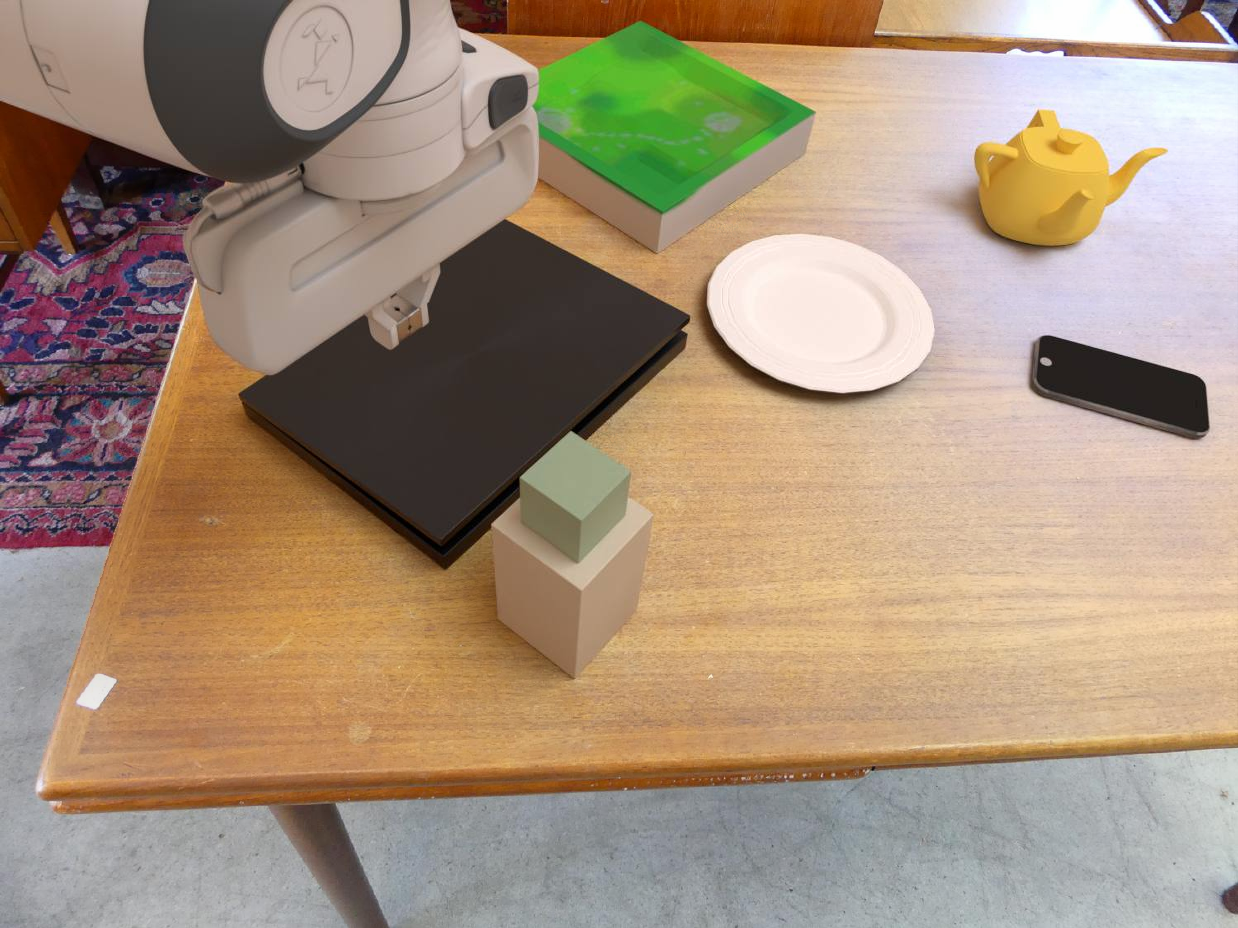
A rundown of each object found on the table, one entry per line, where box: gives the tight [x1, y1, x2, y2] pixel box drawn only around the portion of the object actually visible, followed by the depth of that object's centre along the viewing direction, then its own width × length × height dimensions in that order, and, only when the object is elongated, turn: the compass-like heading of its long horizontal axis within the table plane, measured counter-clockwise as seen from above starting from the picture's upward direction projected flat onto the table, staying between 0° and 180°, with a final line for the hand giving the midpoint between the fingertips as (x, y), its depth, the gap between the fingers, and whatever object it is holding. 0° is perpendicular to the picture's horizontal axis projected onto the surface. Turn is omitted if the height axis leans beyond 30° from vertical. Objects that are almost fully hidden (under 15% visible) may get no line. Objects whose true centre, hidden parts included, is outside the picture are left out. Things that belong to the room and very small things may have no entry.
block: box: [520, 431, 632, 563], centre depth 53 cm, size 4×4×4 cm
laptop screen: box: [237, 218, 691, 546], centre depth 75 cm, size 22×30×1 cm
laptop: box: [241, 329, 689, 570], centre depth 77 cm, size 22×30×2 cm
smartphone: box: [1031, 334, 1210, 439], centre depth 82 cm, size 8×1×15 cm
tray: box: [532, 20, 817, 255], centre depth 98 cm, size 25×25×5 cm
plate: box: [706, 233, 936, 395], centre depth 84 cm, size 21×21×2 cm
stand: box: [490, 496, 655, 679], centre depth 60 cm, size 7×7×12 cm
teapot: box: [973, 109, 1169, 247], centre depth 93 cm, size 14×13×10 cm
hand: (400, 332), depth 53 cm, fingers closed
